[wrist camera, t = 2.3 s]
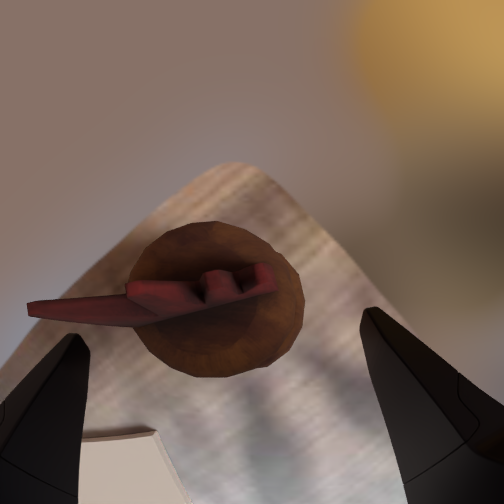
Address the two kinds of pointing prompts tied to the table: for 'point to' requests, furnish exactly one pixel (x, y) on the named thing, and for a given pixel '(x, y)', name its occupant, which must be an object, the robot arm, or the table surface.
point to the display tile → (128, 471)
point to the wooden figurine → (201, 301)
